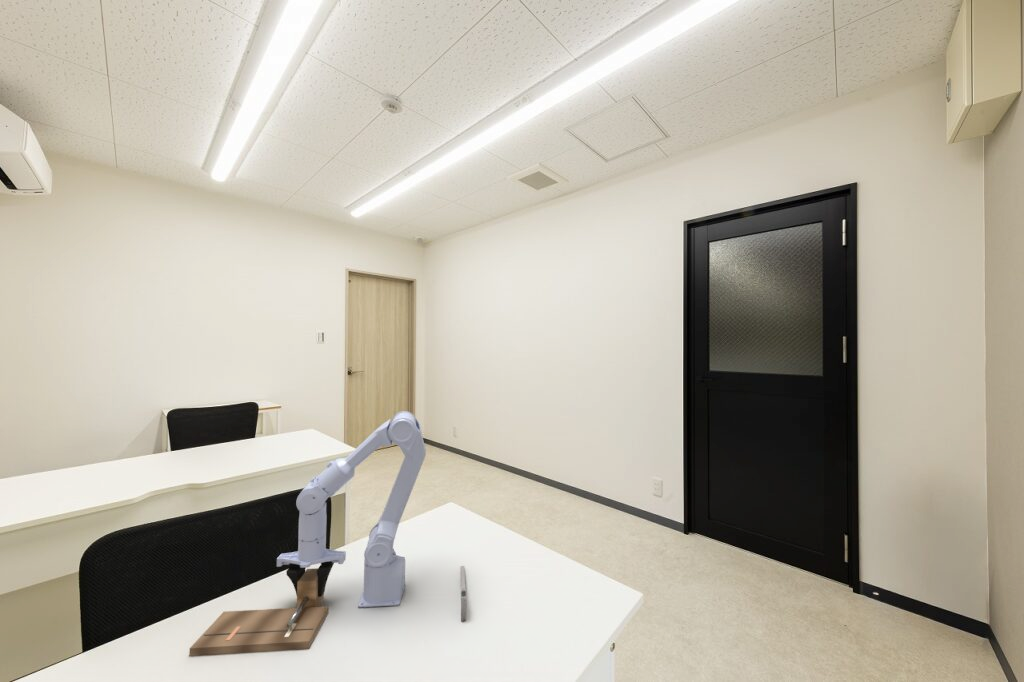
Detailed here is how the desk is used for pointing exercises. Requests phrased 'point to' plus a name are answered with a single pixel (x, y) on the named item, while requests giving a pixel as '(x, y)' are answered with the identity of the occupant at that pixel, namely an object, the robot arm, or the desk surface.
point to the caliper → (463, 595)
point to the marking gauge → (306, 593)
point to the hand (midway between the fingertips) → (310, 594)
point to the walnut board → (260, 631)
